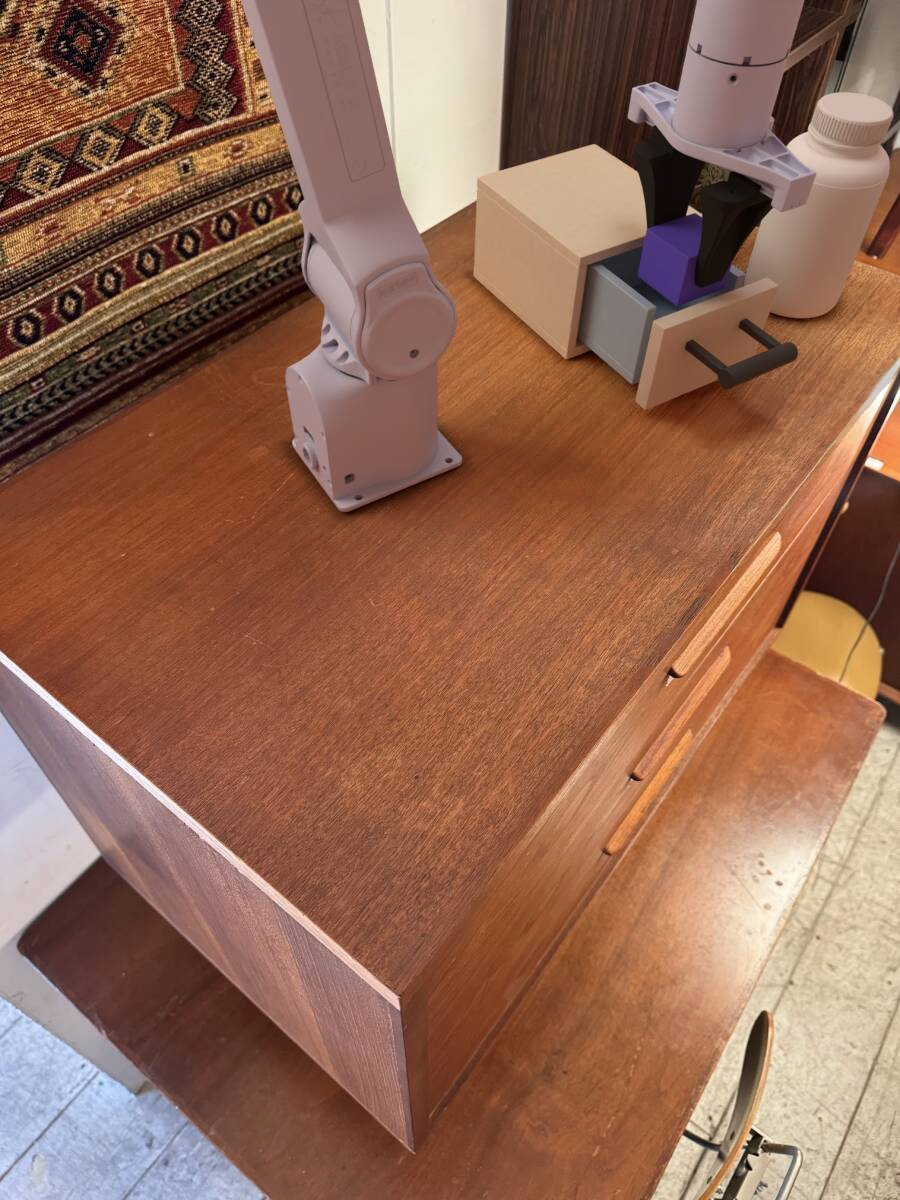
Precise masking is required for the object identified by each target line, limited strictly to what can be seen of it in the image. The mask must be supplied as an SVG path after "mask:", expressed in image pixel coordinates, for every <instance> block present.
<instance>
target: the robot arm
mask: <svg viewBox="0 0 900 1200" xmlns="http://www.w3.org/2000/svg"><path fill="white" fill-rule="evenodd" d="M240 2H241V6H242V9H243V11H244V15H245V18H246V21H247V24H248V27H249V31H250V33H251V37H252V40H253V43H254V46H255V49H256V52H257V55H258V59H259V61H260V65H261V68H262V71H263V74H264V78H265V80H266V81H265V82H266V84H267V86H268V90H269V93H270V96H271V99H272V102H273V105H274V108H275V112H276V115H277V117H278V121H279V124H280V126H281V130H282V133H283V137H284V140H285V143H286V146H287V148H288V151H289V155H290V159H291V162H292V165H293V168H294V171H295V174H296V177H297V181H298V183H299V187H300V189H301V193H302V196H303V200H301V202H300V203H299V205H298V207H297V211H298V214H299V217H300V220H301V225H302V228H303V246H302V253H301V271H302V276H303V278H304V281H305V283H306V285H307V286H308V288H309V289H310V291H311V292H312V293H313V294H314V296H315V297H316V298H318V300H320V302H321V303H322V305H323V307H324V308H323V309H324V317H323V321H322V326H321V336H320V343H319V344H318V346H317V347H316V348H315V349H314V350H313V351H311V352H310V353H309V354H308V355H307V356H305V357H304V358H301V360H299V361H297V362H295V363H294V364H291V365H290V366H288V367H287V368H286V370H285V390H286V394H287V401H288V407H289V412H290V418H291V419H290V420H291V425H292V429H293V431H292V432H293V435H294V436H293V437H294V438H293V439H292V445H291V446H292V448H293V449H294V450H295V452H296V453H297V455H298V456H299V457H300V459H301V460H302V462H303V463H304V464H305V466H306V467H307V468H308V469H309V471H310V472H311V474H312V476H313V477H314V478H315V480H316V481H317V482H318V484H319V485H320V486H321V487H322V489H323V490H324V492H325V493H326V495H327V496H328V497H329V498H330V500H331V501H332V503H333V504H334V505H335V507H336V509H338V511H339V512H341V513H348V512H350V511H353V510H356V509H359V508H360V507H363V506H365V505H368V504H370V503H372V502H376V501H377V500H381V499H382V498H385V497H387V496H390V495H392V494H394V493H397V492H399V491H402V490H404V489H406V488H409V487H412V486H414V485H416V484H419V483H422V482H424V481H426V480H428V479H431V478H433V477H436V476H439V475H441V474H443V473H445V472H448V471H450V470H453V469H455V468H457V467H460V466H461V465H462V464H463V457H462V455H461V454H460V452H458V450H456V448H455V447H454V446H453V445H452V444H451V443H450V442H449V440H448V439H447V438H446V437H445V436H444V435H443V434H442V433H441V432H440V430H439V410H438V409H439V406H438V405H439V404H438V403H439V360H440V359H441V358H442V356H443V355H444V354H445V353H446V351H447V350H448V348H449V347H450V345H451V344H452V341H453V339H454V337H455V333H456V331H457V324H458V310H457V306H456V303H455V300H454V297H453V296H452V295H451V293H450V292H449V291H448V290H447V288H446V287H445V286H444V285H443V284H442V283H441V282H440V281H439V280H438V279H437V278H436V276H435V273H434V272H433V269H432V264H431V260H430V259H431V258H430V254H429V251H428V249H427V247H426V244H425V242H424V240H423V237H422V235H421V234H420V232H419V229H418V227H417V225H416V223H415V221H414V219H413V217H412V215H411V213H410V210H409V209H408V207H407V204H406V202H405V199H404V198H403V195H402V191H401V187H400V181H399V177H398V172H397V167H396V162H395V159H394V154H393V149H392V145H391V139H390V135H389V131H388V127H387V123H386V118H385V113H384V109H383V104H382V99H381V95H380V90H379V86H378V81H377V77H376V72H375V67H374V63H373V57H372V54H371V50H370V49H371V48H370V45H369V41H368V36H367V30H366V25H365V22H364V18H363V13H362V9H361V3H360V0H240ZM804 4H805V0H696V4H695V10H694V14H693V19H692V23H691V29H690V33H689V39H688V42H687V47H686V53H685V57H684V62H683V66H682V72H681V76H680V80H679V81H680V82H679V86H678V90H675V89H672V88H669V87H667V86H666V85H665V86H664V85H662V84H660V83H659V82H656V81H653V82H650V83H646V84H642V85H637V86H634V87H632V89H631V94H630V100H629V107H628V113H627V119H628V120H630V121H631V122H633V123H634V124H642V123H646V124H647V125H649V126H650V127H651V132H650V134H649V135H648V136H647V139H646V140H643V141H639V142H636V143H634V145H633V147H632V152H631V158H632V160H633V163H634V166H635V168H636V171H637V172H638V174H639V177H640V181H641V185H642V189H643V195H644V201H645V209H646V221H647V229H648V228H651V227H654V226H657V225H660V224H663V223H666V222H669V221H672V220H675V219H678V218H681V217H684V216H686V214H687V210H688V206H689V203H690V199H691V196H692V194H693V191H694V188H695V186H696V183H697V181H698V178H699V176H700V174H701V172H702V169H703V167H704V165H705V163H706V162H707V163H710V164H713V165H716V166H719V167H720V168H722V169H724V170H725V171H727V172H729V177H728V181H725V180H723V181H720V182H717V183H714V184H711V185H708V186H705V187H702V188H701V190H700V199H701V206H702V233H701V242H700V247H699V252H698V256H697V261H696V267H695V284H696V285H697V286H698V287H700V288H703V287H706V286H709V285H711V284H714V283H717V282H719V281H722V279H723V277H724V275H725V273H726V272H727V270H728V268H729V266H730V264H731V263H732V264H733V261H734V259H735V258H736V256H737V254H738V253H739V252H740V250H741V249H742V246H743V245H744V243H745V242H746V241H747V239H748V238H749V237H750V235H751V234H752V232H753V231H754V230H755V229H756V227H757V226H758V225H760V224H761V221H762V219H763V218H764V217H765V216H766V215H767V214H768V213H769V212H770V211H771V210H772V209H773V208H775V209H777V210H779V211H780V212H785V211H788V210H791V209H794V208H797V207H799V206H802V205H805V204H806V202H807V200H808V197H809V194H810V191H811V188H812V185H813V182H814V179H815V176H816V172H815V171H814V170H812V169H810V168H809V167H807V166H806V165H804V164H803V163H802V162H801V161H799V160H798V159H797V158H796V157H795V156H794V155H793V154H792V153H791V151H790V150H789V149H788V148H787V147H786V146H787V145H785V144H784V143H783V142H782V141H781V140H780V139H779V138H778V136H776V134H775V133H774V132H773V128H774V127H773V126H774V124H775V118H774V117H773V116H772V114H773V111H774V107H775V104H776V101H777V97H778V94H779V90H780V86H781V83H782V80H783V76H784V73H785V69H786V67H787V62H788V59H789V55H790V52H791V48H792V46H793V42H794V38H795V35H796V31H797V28H798V24H799V20H800V17H801V13H802V11H803V7H804Z"/></svg>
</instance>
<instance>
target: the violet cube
mask: <svg viewBox="0 0 900 1200" xmlns="http://www.w3.org/2000/svg"><path fill="white" fill-rule="evenodd" d="M701 233H702V217H701V216H699V215H698V214H696V213H693V214H690V215H687V216H684V217H681V218H678V219H675V220H672V221H669V222H666V223H663V224H660V225H657V226H654V227H651V228H648V229H647V231H646V236H645V240H644V245H643V250H642V255H641V260H640V265H639V270H638V275H637V276H638V277H639V278H640V279H642V280H643V281H644V282H646V283H647V284H648V285H650V286H651V287H652V288H653V289H655V290H656V291H657V292H659V293H660V294H661V295H663V296H664V297H665V298H667V299H668V300H669V301H671V302H672V303H673V304H675V305H676V306H680V305H682V304H685V303H688V302H690V301H693V300H696V299H698V298H701V297H704V296H706V295H709V294H712V293H714V292H717V291H720V290H722V289H724V288H725V285H726V281H727V278H728V274H729V271H730V268H731V264H732V265H733V262H732V263H731V264H730V266H729V268H728V270H727V272H726V273H725V275H724V277H723V279H722V281H719V282H717V283H714V284H711V285H709V286H706V287H703V288H700V287H698V286H697V285H696V284H695V267H696V261H697V256H698V252H699V247H700V242H701Z"/></svg>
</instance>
